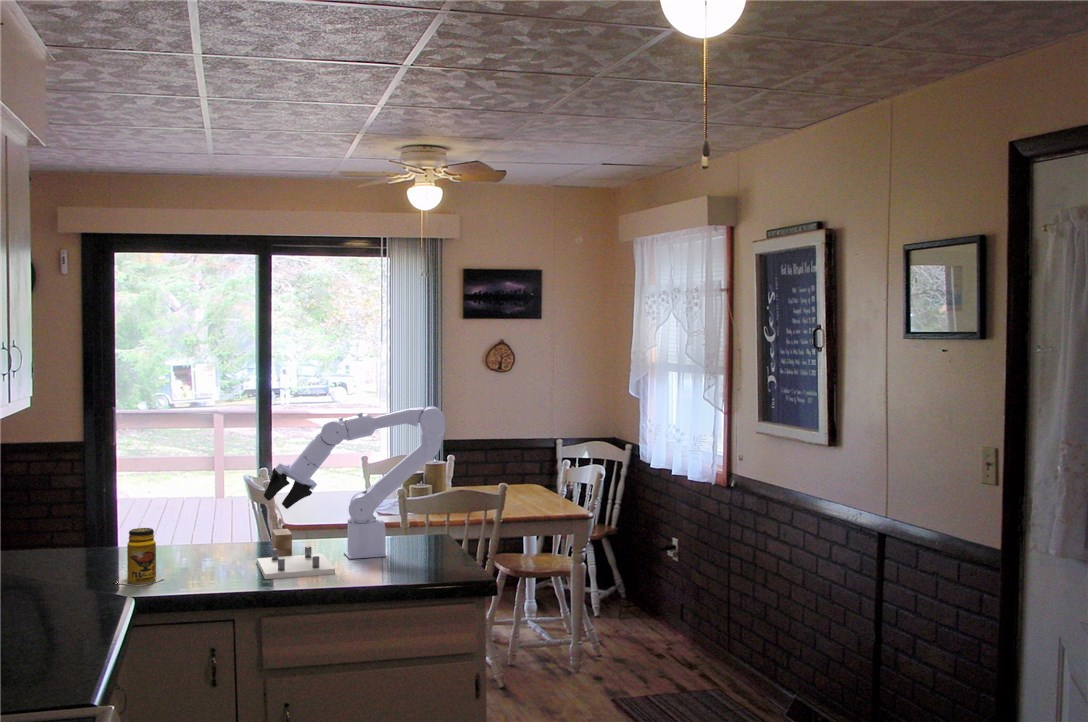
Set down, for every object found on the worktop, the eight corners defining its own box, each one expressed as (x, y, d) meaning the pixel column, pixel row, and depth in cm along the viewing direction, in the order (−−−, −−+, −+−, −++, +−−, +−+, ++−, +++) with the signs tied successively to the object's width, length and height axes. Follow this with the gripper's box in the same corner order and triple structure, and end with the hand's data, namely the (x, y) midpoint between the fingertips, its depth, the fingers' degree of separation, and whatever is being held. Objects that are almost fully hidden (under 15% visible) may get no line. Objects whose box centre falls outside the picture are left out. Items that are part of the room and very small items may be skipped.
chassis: (322, 558, 257) (322, 543, 257) (335, 573, 240) (335, 558, 240) (256, 563, 251) (256, 548, 251) (265, 579, 234) (265, 563, 234)
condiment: (143, 586, 227) (143, 533, 226) (112, 583, 229) (112, 530, 229) (165, 579, 234) (164, 527, 233) (134, 576, 236) (134, 525, 236)
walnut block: (287, 551, 265) (287, 528, 265) (291, 557, 258) (291, 534, 258) (271, 552, 264) (271, 529, 264) (275, 559, 256) (275, 535, 256)
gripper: (317, 460, 266) (284, 501, 265) (284, 442, 254) (249, 485, 253) (332, 475, 262) (298, 517, 261) (300, 458, 250) (264, 501, 249)
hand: (275, 502), depth 257 cm, fingers open, 7 cm apart
